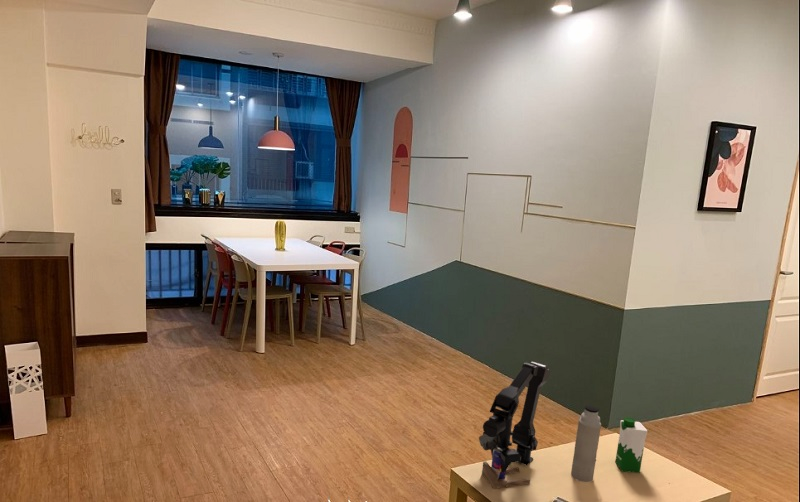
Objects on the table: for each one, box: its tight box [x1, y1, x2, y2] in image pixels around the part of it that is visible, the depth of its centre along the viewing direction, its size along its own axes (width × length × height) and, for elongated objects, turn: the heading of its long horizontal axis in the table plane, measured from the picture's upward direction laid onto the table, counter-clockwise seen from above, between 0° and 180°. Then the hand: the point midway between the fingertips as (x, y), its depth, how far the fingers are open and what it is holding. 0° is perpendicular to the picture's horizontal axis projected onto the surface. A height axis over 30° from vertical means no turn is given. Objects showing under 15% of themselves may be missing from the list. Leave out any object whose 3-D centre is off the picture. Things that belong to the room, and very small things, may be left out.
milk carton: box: [614, 417, 648, 474], centre depth 211 cm, size 9×9×20 cm
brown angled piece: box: [481, 461, 531, 489], centre depth 197 cm, size 15×9×5 cm, turn 107°
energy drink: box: [490, 447, 506, 479], centre depth 195 cm, size 5×5×12 cm
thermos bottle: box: [570, 404, 602, 483], centre depth 201 cm, size 8×8×28 cm
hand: (498, 466), depth 195 cm, fingers open, 6 cm apart
